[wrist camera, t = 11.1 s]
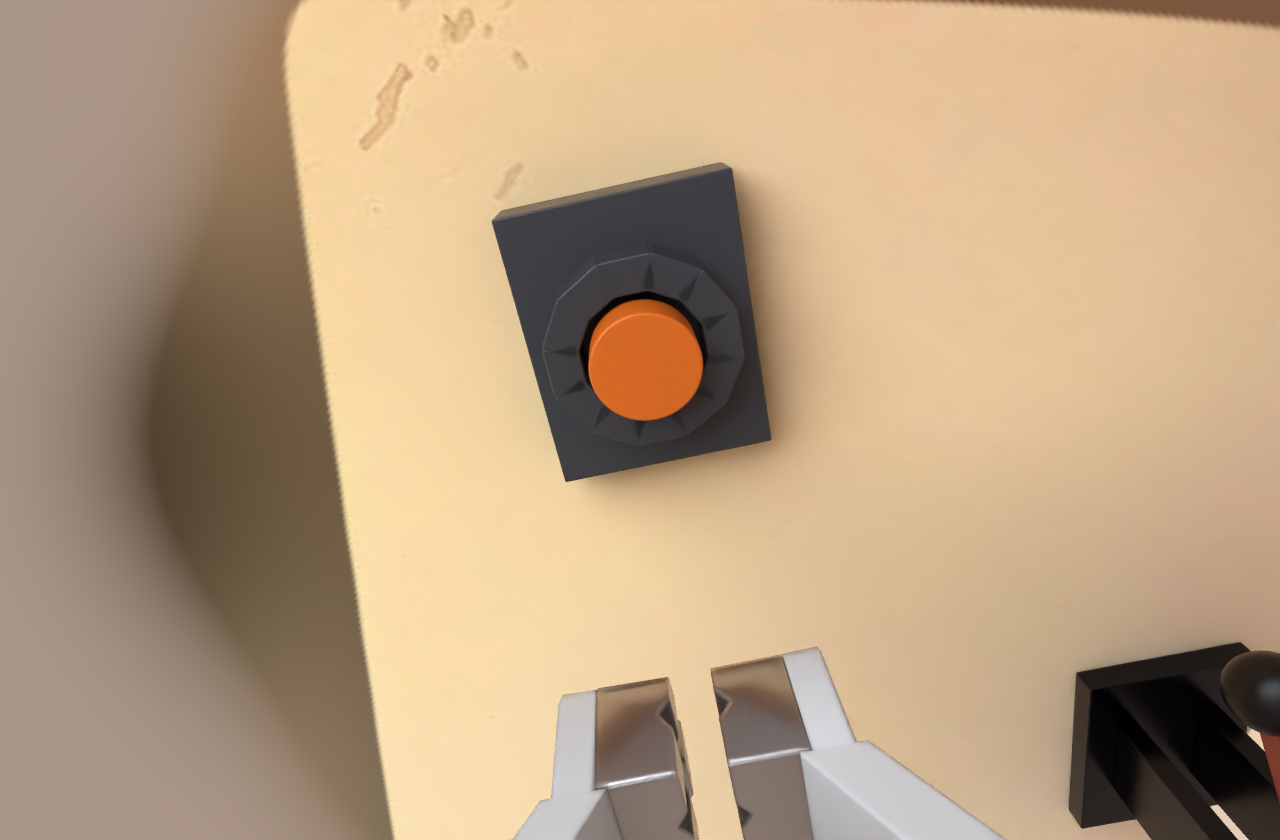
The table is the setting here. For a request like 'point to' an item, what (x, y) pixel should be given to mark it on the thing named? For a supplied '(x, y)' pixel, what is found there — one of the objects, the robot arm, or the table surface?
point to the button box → (630, 270)
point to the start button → (644, 360)
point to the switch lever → (1256, 699)
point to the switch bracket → (1168, 751)
